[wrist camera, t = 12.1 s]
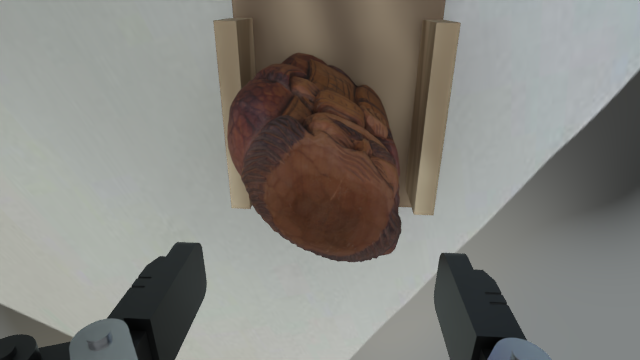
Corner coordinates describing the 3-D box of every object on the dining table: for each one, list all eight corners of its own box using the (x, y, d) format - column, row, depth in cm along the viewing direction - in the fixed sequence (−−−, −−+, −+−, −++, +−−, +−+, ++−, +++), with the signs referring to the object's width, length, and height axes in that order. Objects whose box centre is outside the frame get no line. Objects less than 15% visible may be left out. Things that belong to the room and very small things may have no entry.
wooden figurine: (413, 114, 33) (480, 226, 16) (369, 173, 35) (388, 322, 19) (291, 33, 31) (227, 68, 14) (253, 101, 33) (161, 199, 17)
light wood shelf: (251, 194, 38) (233, 229, 33) (236, -11, 31) (210, -14, 25) (417, 200, 38) (430, 236, 32) (442, -10, 30) (465, -13, 24)
